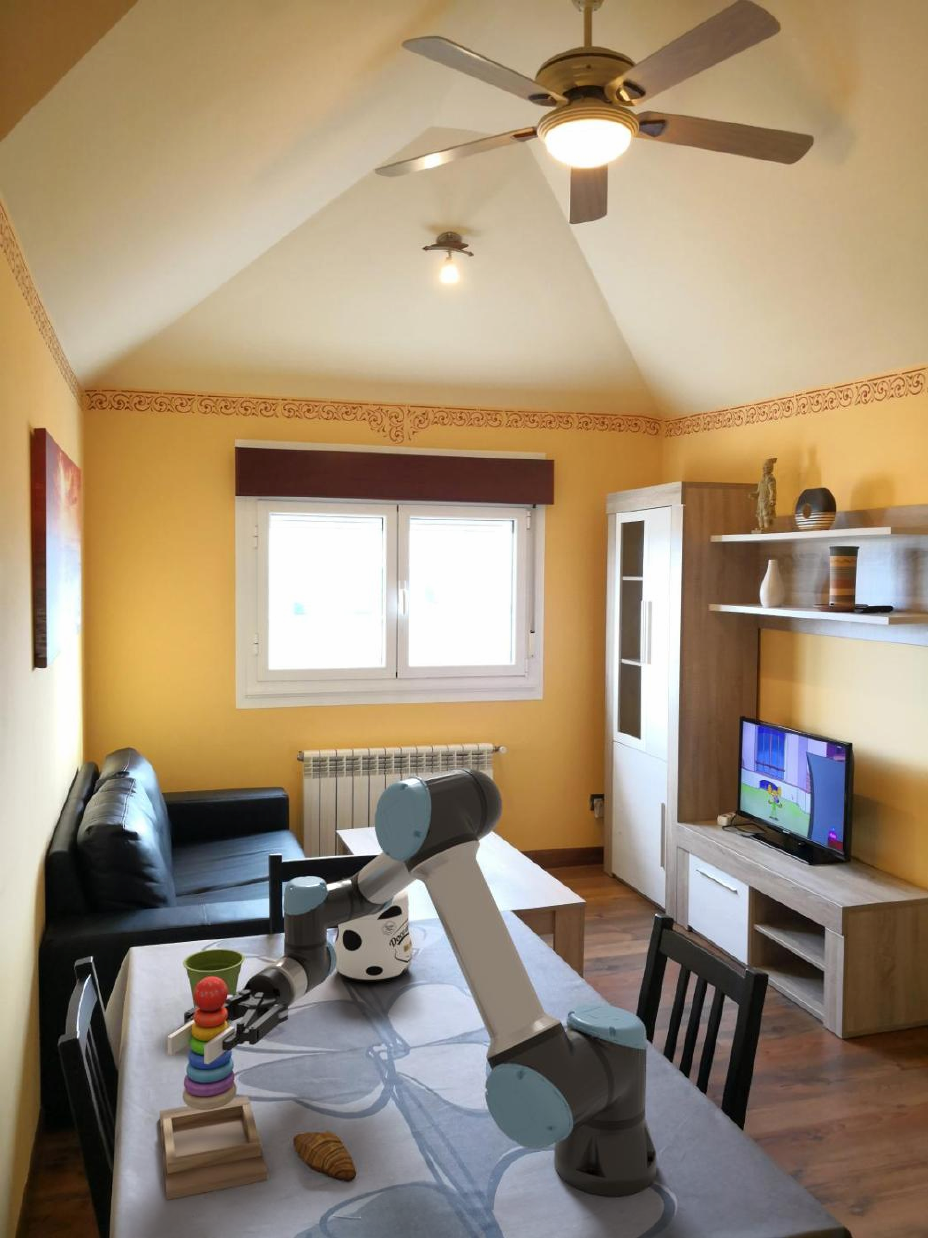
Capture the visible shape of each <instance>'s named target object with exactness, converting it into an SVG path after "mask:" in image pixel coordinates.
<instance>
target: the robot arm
mask: <svg viewBox="0 0 928 1238" xmlns="http://www.w3.org/2000/svg"><path fill="white" fill-rule="evenodd" d="M502 813H503V799H502V794H501V791H500V789H499V787H498V786H497V784H496V782H495V781H494V780H493V779H492V778H491V777H490V776H488V774H486V773H484V772H483V771H480V770H478V769H474V768H470V767H458V768H453V769H450V770H445V771H439V772H435V773H429V774H424V775H418V776H417V775H415V776H409V777H408V778H406V779H403V780H402V779H401V780H399V781H395V782H393V783H392V784H390V785H388V786H387V787H386V788H385V789H384V790H383V791H382V793H381V794H380V796H379V798H378V800H377V803H376V811H375V813H374V831H375V837H376V840H377V843H378V845H379V846H380V849H381V850H382V852H381V853H380V854H378V855H377V856H376V857H375V858H373V859H372V860H371V861H369V862H368V863H367V864H366V865H365V866H363V867H362V869H360V870H359V871H358V872H356V873H355V874H354V875H352V876H351V877H347V878H344V879H341V880H337V881H334V882H333V881H332V882H330V883H327V882H326V880H325V879H323V878H321V877H320V876H319V877H318V876H313V875H312V876H309V875H308V876H299V877H295V878H292V879H290V880H289V881H288V882H287V883H286V885H285V886H284V894H283V905H282V908H283V918H284V921H283V922H284V923H283V924H284V925H283V926H284V928H283V929H284V939H283V956H281V957H280V958H279V959H278V960H276V961H273V962H272V963H271V964H269V965H268V966H266V967H265V968H264V969H262V970H261V971H259V972H257V973H256V974H254V975H253V976H252V977H251V978H249V979H248V981H247V982H246V984H245V986H244V987H243V989H242V990H238V991H236V992H235V993H234V994H233V995H228V996H227V1000H226V1002H225V1003H224V1005H223V1007H225V1008H226V1010H227V1012H228V1016H227V1019H226V1020H225V1021H226V1022H227V1021H230V1022H234V1021H236V1024H235V1025H236V1026H228V1029H226V1030H225V1031H223V1032H222V1033H221V1034H219V1035H218V1036H217V1037H215V1038H214V1039H212V1040H211V1041H210V1042H208V1043H207V1044H205V1045H204V1063H205V1064H210V1063H211V1062H212V1061H214V1060H215V1059H216V1058H218V1057H219V1056H220V1055H222V1054H223V1053H224V1052H226V1051H229V1050H232V1049H234V1048H236V1046H238V1045H243V1044H245V1042H248V1044H249V1045H252V1046H254V1045H256V1044H257V1043H259V1042H260V1041H261V1040H262V1039H263V1038H265V1037H266V1036H267V1035H268V1034H270V1032H271V1031H272V1030H274V1029H275V1028H276V1027H277V1026H278V1025H280V1024H282V1023H284V1022H285V1021H288V1019H289V1007H291V1006H292V1005H293V1004H294V1003H296V1002H297V1001H298V1000H299V999H300V998H302V997H304V996H305V995H306V994H308V993H309V992H311V991H312V990H313V989H314V988H316V987H318V986H319V985H321V984H322V983H324V982H325V981H326V979H328V977H329V976H330V975H331V974H332V973H333V972H334V971H335V969H336V963H337V956H336V953H335V951H334V945H333V944H332V943H331V942H330V941H329V940H327V939H328V929H329V928H333V927H336V926H338V925H339V924H342V923H345V922H348V921H351V920H355V919H358V918H361V917H364V916H368V915H374V914H376V913H378V912H380V911H382V910H385V909H387V908H388V907H389V906H390V905H391V904H392V900H393V898H394V896H395V895H396V894H398V893H399V892H400V891H402V890H403V889H404V888H406V889H407V887H409V886H410V885H411V884H412V883H413V882H415V881H417V880H418V881H420V882H422V883H423V884H424V885H425V888H426V890H427V893H428V894H429V898H430V900H431V902H432V904H433V907H434V910H435V912H436V914H437V916H438V919H439V921H440V923H441V926H442V928H443V930H444V933H445V935H446V938H447V940H448V942H449V945H450V947H451V949H452V952H453V954H454V957H455V959H456V961H457V963H458V966H459V968H460V971H461V974H462V975H463V978H464V980H465V982H466V985H467V987H468V990H469V992H470V994H471V996H472V1000H473V1002H474V1004H475V1006H476V1009H477V1010H478V1014H479V1015H480V1017H481V1020H482V1022H483V1024H484V1028H485V1029H486V1032H487V1035H488V1036H489V1038H490V1039H489V1046H488V1048H487V1052H486V1055H485V1057H486V1060H487V1062H488V1064H489V1068H490V1069H491V1071H490V1072H489V1074H488V1076H487V1078H486V1080H485V1085H484V1087H485V1089H486V1091H485V1092H484V1096H485V1097H484V1098H485V1103H486V1106H487V1109H488V1112H489V1114H490V1115H491V1118H492V1119H493V1121H494V1123H495V1124H496V1126H497V1127H498V1129H499V1130H500V1131H501V1132H502V1133H503V1135H505V1136H506V1137H507V1138H508V1139H509V1140H510V1141H513V1142H515V1143H516V1144H518V1145H519V1146H521V1147H523V1148H526V1149H530V1150H542V1149H544V1148H548V1147H550V1146H552V1145H553V1144H554V1147H553V1149H554V1151H553V1152H554V1153H553V1154H554V1155H553V1157H554V1159H553V1164H554V1168H555V1170H556V1171H557V1173H558V1175H559V1176H560V1177H561V1178H562V1179H563V1180H564V1181H565V1182H566V1183H567V1184H569V1185H571V1186H572V1187H574V1188H576V1189H578V1190H581V1191H583V1192H586V1193H588V1194H589V1193H590V1194H592V1195H593V1194H594V1195H596V1196H605V1197H621V1196H627V1195H632V1194H635V1193H638V1192H640V1191H643V1190H644V1189H646V1188H647V1187H648V1186H649V1185H651V1184H652V1183H653V1181H654V1180H655V1178H656V1176H657V1165H658V1163H657V1162H658V1160H657V1159H658V1158H657V1157H658V1156H657V1151H656V1148H655V1144H654V1142H653V1138H652V1134H651V1131H650V1128H649V1125H648V1122H647V1119H646V1100H647V1099H646V1098H647V1097H646V1093H647V1092H646V1091H647V1089H646V1087H647V1049H648V1046H649V1045H648V1044H647V1030H646V1029H647V1028H646V1026H645V1024H644V1022H643V1021H642V1020H641V1018H640V1017H639V1016H637V1015H636V1014H635V1013H632V1012H630V1011H629V1010H626V1009H623V1008H620V1007H616V1006H612V1005H606V1004H598V1003H590V1004H587V1003H586V1004H579V1005H576V1006H574V1007H572V1008H570V1009H569V1011H568V1012H567V1018H566V1021H565V1022H566V1030H565V1027H564V1025H563V1023H562V1021H561V1019H559V1018H556V1017H554V1016H551V1015H549V1014H548V1013H546V1011H545V1009H544V1008H543V1005H542V1003H541V1000H540V999H539V996H538V994H537V992H536V989H535V987H534V985H533V983H532V980H531V979H530V978H531V977H530V976H529V974H528V971H527V970H526V967H525V965H524V963H523V959H522V958H521V956H520V954H519V951H518V950H517V947H516V945H515V943H514V941H513V938H512V936H511V934H510V931H509V929H508V927H507V924H506V923H505V920H504V918H503V916H502V914H501V912H500V909H499V907H498V905H497V903H496V900H495V898H494V896H493V894H492V892H491V889H490V887H489V885H488V883H487V881H486V878H485V877H484V876H485V875H484V874H483V871H482V869H481V867H480V865H479V862H478V861H477V855H478V852H479V849H480V846H481V842H480V840H482V839H483V838H485V837H487V835H489V834H490V833H491V832H493V830H494V829H495V828H496V827H497V825H498V824H499V822H500V820H501V817H502ZM197 1009H198V1007H197V1006H195V1007H194V1006H193V1007H192V1008H190V1009H188V1010H186V1011H185V1012H184V1013H183V1024H182V1025H181V1026H179V1027H178V1028H177V1029H176V1031H173V1033H171V1034H169V1035H168V1036H167V1039H166V1041H167V1055H168V1056H173V1055H174V1054H176V1053H177V1052H178V1051H180V1050H182V1049H183V1048H184V1047H186V1046H188V1045H189V1044H190V1041H191V1038H192V1037H193V1035H192V1033H191V1029H192V1026H193V1024H194V1023H195V1022H194V1013H195V1011H196V1010H197ZM239 1019H241V1020H240V1021H237V1020H239Z"/></svg>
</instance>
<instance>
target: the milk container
mask: <svg viewBox="0 0 928 1238" xmlns="http://www.w3.org/2000/svg"><path fill="white" fill-rule="evenodd" d="M409 912H410V910H409V894H408V890H407V887H406V888H404V889H403V890H402V891H400V892H399V893H398V894H396V895H395V896H394V898H393V900H392V904H391V905H390V906H389V907H388V908H387V909H385V910H382V911H380V912H378V913H376V914H374V915H368V916H364V917H361V918H358V919H355V920H351V921H348V922H345V923H342V924H339V925H337V933H336V937H335V942H334V945H333V949H334V951H335V953H336V956H337V963H336V967H335V969H336V971H337V972H338V973H339V974H340V975H342V977H345V978H347V979H349V980H352V981H357V982H362V983H364V982H365V983H369V982H370V983H378V982H385V981H386V982H387V981H390V980H392V979H396V978H398V977H399V976H401V975H403V974H404V973H406V972H407V971H408V970H409V968H410V966H411V964H412V960H413V952H414V951H413V943H412V937H411V935H410V931H409V916H410V915H409Z"/></svg>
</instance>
